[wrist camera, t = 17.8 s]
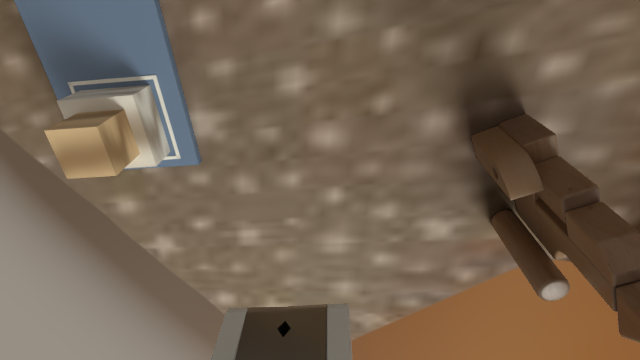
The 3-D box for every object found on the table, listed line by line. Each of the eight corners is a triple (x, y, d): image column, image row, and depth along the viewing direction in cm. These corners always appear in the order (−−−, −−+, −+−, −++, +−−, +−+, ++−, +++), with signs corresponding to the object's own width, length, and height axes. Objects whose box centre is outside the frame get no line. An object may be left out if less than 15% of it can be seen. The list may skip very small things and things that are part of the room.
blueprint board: (8, -32, 36) (-1, -32, 35) (146, -46, 35) (140, -47, 34) (94, 168, 46) (89, 172, 45) (201, 161, 45) (198, 165, 44)
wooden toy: (467, 134, 43) (609, 296, 21) (525, 112, 41) (745, 262, 19) (492, 231, 49) (621, 432, 28) (544, 215, 48) (723, 414, 26)
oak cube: (77, 112, 37) (44, 130, 33) (124, 109, 37) (96, 126, 33) (96, 156, 40) (67, 178, 35) (140, 153, 39) (116, 175, 35)
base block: (80, 90, 40) (56, 101, 37) (149, 84, 40) (132, 95, 36) (106, 155, 44) (87, 170, 41) (170, 151, 44) (156, 166, 40)
